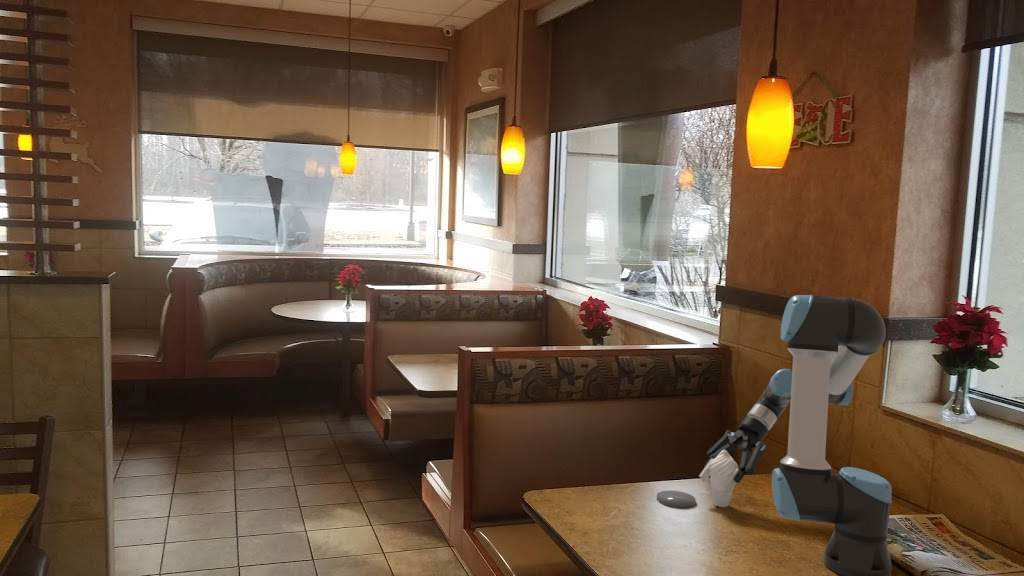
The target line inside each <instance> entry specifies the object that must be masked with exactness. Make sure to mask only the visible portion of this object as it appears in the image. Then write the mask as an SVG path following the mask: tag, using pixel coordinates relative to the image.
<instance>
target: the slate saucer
mask: <svg viewBox="0 0 1024 576" xmlns="http://www.w3.org/2000/svg"><path fill="white" fill-rule="evenodd" d="M656 501H657V502H658V501H659V502H658V503H659V504H661V503H662V504H661V505H664V506H666V505H667V507H671V508H675V507H677V508H676V509H678V508H679V509H688V508H693V507H695V505H696V501H697V499H696V497H694V495H692V494H690V493H688V492H683V491H679V490H661V491H659V492H657V494H656Z"/></svg>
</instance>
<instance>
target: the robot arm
mask: <svg viewBox="0 0 1024 576" xmlns="http://www.w3.org/2000/svg"><path fill="white" fill-rule="evenodd" d="M886 329H887V328H886V324H885V321H884V318H883V317H882V315H881V314H880V312H879V311H878V310H877V309H876V308H875V307H874V306H873V305H872V304H870V303H868V302H867V301H865V300H863V299H859V298H855V297H839V296H838V297H837V296H828V295H827V296H825V295H813V294H801V295H800V294H797V295H793V296H792V297H791V298H789V300H788V301H787V303H786V305H785V308H784V312H783V315H782V319H781V325H780V339H781V341H782V342H784V343H787V345H786V346H787V347H786V349H787V350H788V352H789V354H791V355H792V369H790V368H782V369H779V370H777V371H776V372H775V373H774V374H773V375H772V376H771V377H770V380H769V382H768V384H767V386H766V388H765V389H764V391H763V393H762V394H761V396H759V398H758V400H757V401H756V402H755V404H754V405H753V406H752V408H751V409H750V410H749V412H747V415H746V416H745V417H744V419H743V420H742V421H741V422H740V424H739V426H738V427H739V428H738V430H736V431H735V432H732V431H731V430H730V429H727V430H726V431H725V433H724V434H723V436H722V437H721V438H720V439H718V441H717V442H716V443H714V444H713V445H712V446H711V448H710V449H708V451H707V452H706V455H707V456H708V457H709V459H707V461H706V463H705V464H704V468H703V469H702V471H701V472H700V474H699V475H698V477H699V478H700V480H702V482H704V483H706V481H707V480H708V479H709V477H711V475H710V468H709V465H710V464H709V463H710V462H711V461H712V460H713V459H715V458H716V457H717V455H718V454H719V453H720V452H721V451H722V450H726V451H727V452H728V453H729V454H731V453H732V452H734V451H737V450H742V454H741V457H740V458H741V460H740V463H739V466H738V468H739V469H737V468H736V469H735V471H734V472H733V474H732V475H731V476H730V478H729V479H728V481H727V482H726V483H725V485H724V488H725V489H726V490H727V492H729V493H730V492H731V490H732V489H733V488H734V489H735V486H736V485H737V484H739V483H740V482H741V480H743V479H744V476H746V475H750V476H753V475H754V474H755V471H756V468H757V467H758V464H759V462H760V460H761V458H762V456H763V454H764V453H765V451H767V446H766V445H765V443H764V442H763V440H764V439H765V437H766V436H767V435H768V434H769V431H770V430H771V429H772V427H773V426H774V425H775V423H776V422H777V420H778V419H779V417H780V416H781V414H782V413H783V412H784V411H785V409H786V408H787V406H788V405H789V404H790V405H789V419H788V420H789V422H788V434H787V435H788V438H787V439H788V441H787V453H786V455H785V456H784V457H783V458H782V459H780V462H779V464H780V465H779V467H776V468H774V469H773V470H772V471H771V472H772V473H771V490H772V491H771V492H772V500H773V503H774V506H775V509H776V512H777V513H778V515H779V516H780V517H781V518H783V519H789V520H794V521H797V522H801V521H802V522H813V523H822V524H833V525H834V529H833V532H832V535H831V537H830V538H829V540H828V542H827V544H826V546H825V548H824V551H823V560H822V562H823V564H824V565H825V566H826V567H827V568H828V569H829V570H831V571H833V572H834V573H836V574H839V575H841V576H890V575H891V576H892V572H893V571H892V568H893V567H892V566H893V565H892V561H891V560H892V559H891V555H890V552H889V548H888V546H889V545H888V542H887V541H888V532H889V530H888V529H889V523H890V512H891V507H892V505H891V504H892V502H893V500H892V490H893V488H892V485H891V484H890V481H888V480H887V479H886V478H884V477H882V476H880V475H878V474H876V473H874V472H871V471H869V470H865V469H861V468H858V467H857V468H856V467H850V466H847V467H845V466H844V467H841V468H840V470H839V471H838V473H837V474H836V473H832V465H830V464H829V462H828V461H827V460H826V449H827V448H826V445H827V434H828V433H827V429H828V416H829V415H828V414H829V413H828V412H829V411H828V410H829V405H833V406H847V405H849V404H850V403H851V402H852V399H853V393H854V390H853V389H854V387H853V381H854V380H855V379H856V377H857V375H858V373H859V372H860V370H861V369H862V368H863V366H864V364H865V363H867V360H868V359H869V357H870V356H873V355H875V354H876V353H877V352H879V350H880V349H881V348H882V346H883V344H884V342H885V340H886V334H887V333H886V332H887V331H886ZM734 489H733V490H734Z"/></svg>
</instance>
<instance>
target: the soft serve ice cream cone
mask: <svg viewBox="0 0 1024 576" xmlns="http://www.w3.org/2000/svg"><path fill="white" fill-rule="evenodd" d="M709 464H710V465H709V468H710V484H709V485H710V491H711V499H712V504H713V505H714V507H717V506H719V507H718V508H727V507H729V504H730V501H731V499H732V498H731V497H732V494H733V491H734V489H735V487H734V488H733V489H732V490H731V492H730V493H729V492H727V490H726V489H725V488H724V485H725V483H726V482H727V481H728V479H729V478H730V476H731V475H732V474H733V472H734V471H735V469H736V468H737V469H739V468H740V467H739V465H738V463H737V462H736V461H735V459H734V458H733V457H732V456H731V455H730V453H728V452H727V451H726V450H722V451H721V452H720V453H719V454H718V455H717V457H715V459H713V460H712V461H711V462H710V463H709ZM738 467H739V468H738ZM739 470H740V469H739Z"/></svg>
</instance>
